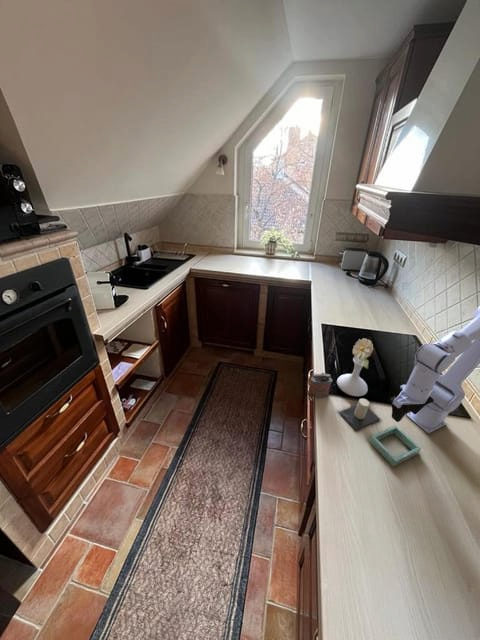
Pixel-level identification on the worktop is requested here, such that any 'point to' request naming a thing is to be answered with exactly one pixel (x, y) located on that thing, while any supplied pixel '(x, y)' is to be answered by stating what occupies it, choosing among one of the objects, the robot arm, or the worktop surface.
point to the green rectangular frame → (386, 453)
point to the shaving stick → (362, 408)
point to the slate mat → (357, 422)
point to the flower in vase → (357, 370)
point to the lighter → (319, 385)
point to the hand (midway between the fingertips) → (403, 415)
